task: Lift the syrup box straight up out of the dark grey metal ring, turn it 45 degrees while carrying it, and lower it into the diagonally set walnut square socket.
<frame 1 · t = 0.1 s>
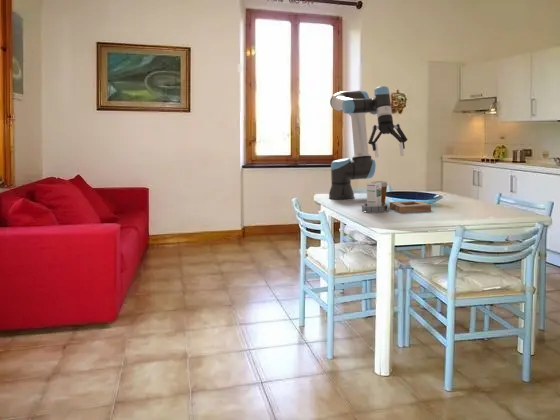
hand: (389, 156, 262), 28 cm above the table, tool tilted 20°, fingers open, 13 cm apart
square socket: (409, 209, 266), on the table
syrup box: (374, 210, 267), resting in metal ring
metal ring: (374, 210, 267), on the table
disposable coffee cup: (379, 204, 286), on the table
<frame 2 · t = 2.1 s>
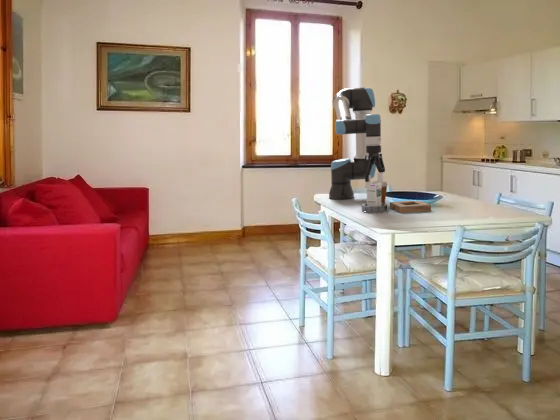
hand: (374, 186, 264), 13 cm above the table, tool pointing down, fingers open, 13 cm apart
nothing on the table moved.
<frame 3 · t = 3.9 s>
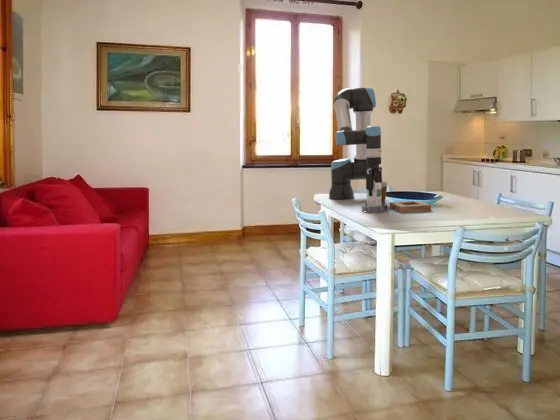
hand: (374, 201, 266), 5 cm above the table, tool pointing down, fingers closed on syrup box, 6 cm apart
syrup box: (374, 210, 267), resting in metal ring, touching gripper
everything else where it was.
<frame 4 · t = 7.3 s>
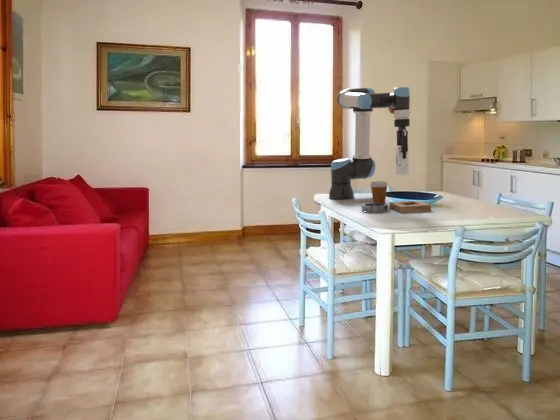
hand: (402, 164, 261), 23 cm above the table, tool pointing down, fingers closed on syrup box, 6 cm apart
syrup box: (402, 174, 262), point 18 cm above the table, touching gripper
everything else where it was.
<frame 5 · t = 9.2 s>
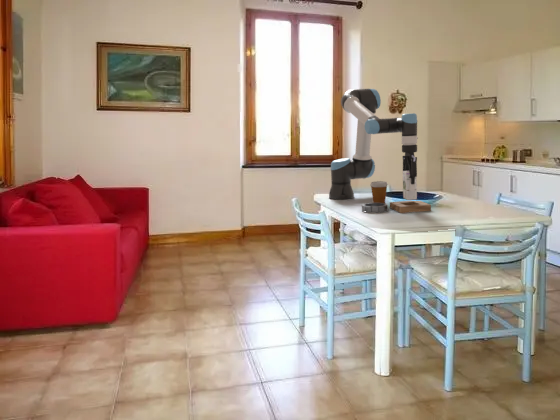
hand: (409, 189, 264), 10 cm above the table, tool pointing down, fingers closed on syrup box, 6 cm apart
syrup box: (409, 199, 264), point 5 cm above the table, touching gripper
everything else where it was.
when the fingers open (6 cm above the table, at t = 11.0 s): syrup box drops 1 cm, resting in square socket.
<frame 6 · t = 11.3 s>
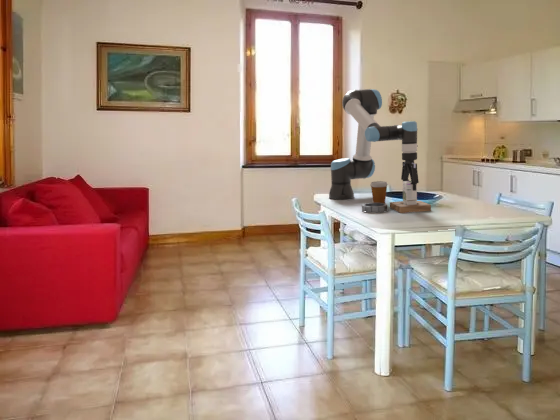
hand: (409, 195, 264), 7 cm above the table, tool pointing down, fingers open, 10 cm apart
syrup box: (409, 209, 265), resting in square socket
everything else where it was.
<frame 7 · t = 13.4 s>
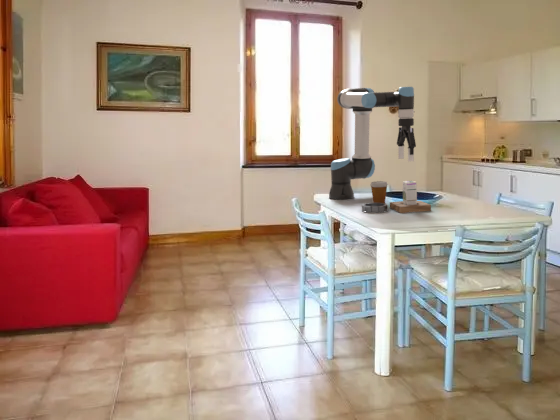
hand: (405, 160, 264), 25 cm above the table, tool pointing down, fingers open, 13 cm apart
nothing on the table moved.
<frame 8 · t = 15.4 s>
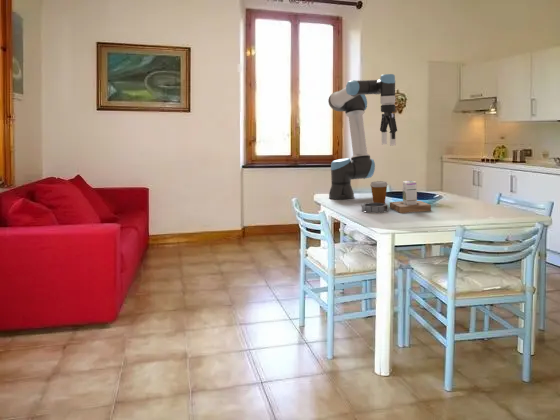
hand: (388, 144, 274), 33 cm above the table, tool pointing down, fingers open, 13 cm apart
nothing on the table moved.
at the end: syrup box 0.1 cm off-centre on the square socket, point 0.0 cm above the square socket's base; syrup box tilted 0°; the gripper is holding nothing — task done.
